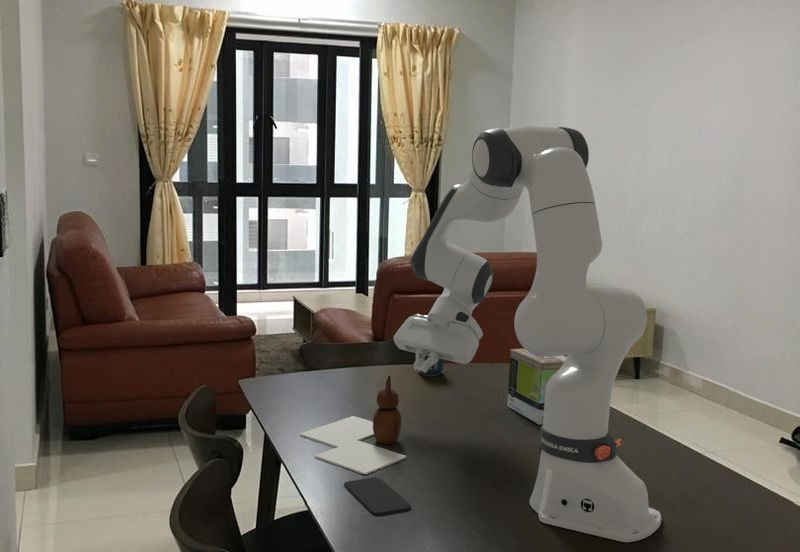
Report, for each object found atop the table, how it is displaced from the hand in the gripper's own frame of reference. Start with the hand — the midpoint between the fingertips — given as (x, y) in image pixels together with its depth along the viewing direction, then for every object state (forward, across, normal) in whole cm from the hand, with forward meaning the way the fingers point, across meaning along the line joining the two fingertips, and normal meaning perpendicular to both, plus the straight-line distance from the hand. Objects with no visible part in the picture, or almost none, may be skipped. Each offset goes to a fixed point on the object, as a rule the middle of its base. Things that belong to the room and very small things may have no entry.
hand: (419, 369), depth 187 cm
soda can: (-18, -27, +38) cm, 50 cm away
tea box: (-11, +14, +30) cm, 35 cm away
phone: (+34, +17, -14) cm, 40 cm away
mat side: (+25, +2, -6) cm, 26 cm away
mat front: (+18, -10, +1) cm, 21 cm away
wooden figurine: (+17, 0, +2) cm, 18 cm away
